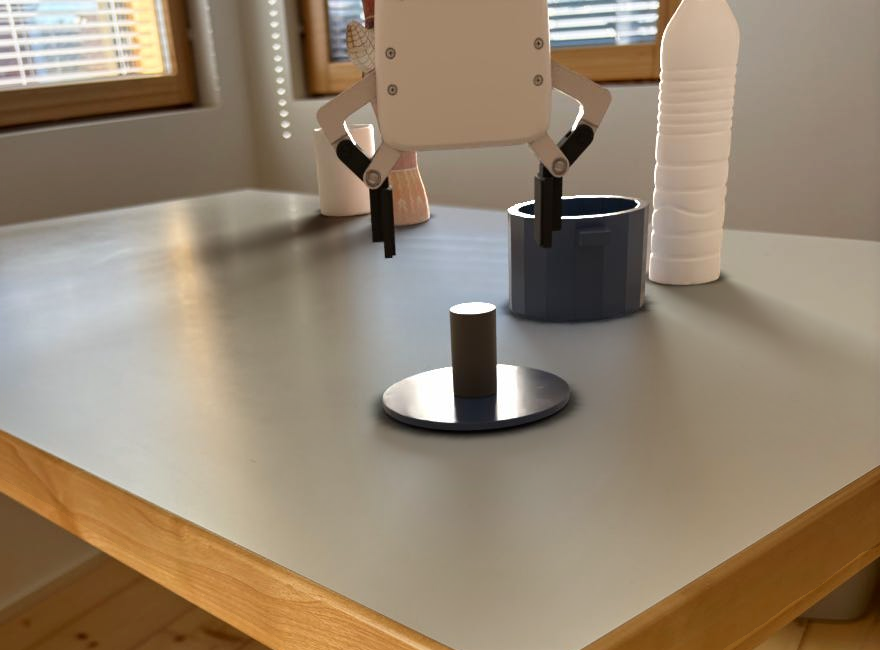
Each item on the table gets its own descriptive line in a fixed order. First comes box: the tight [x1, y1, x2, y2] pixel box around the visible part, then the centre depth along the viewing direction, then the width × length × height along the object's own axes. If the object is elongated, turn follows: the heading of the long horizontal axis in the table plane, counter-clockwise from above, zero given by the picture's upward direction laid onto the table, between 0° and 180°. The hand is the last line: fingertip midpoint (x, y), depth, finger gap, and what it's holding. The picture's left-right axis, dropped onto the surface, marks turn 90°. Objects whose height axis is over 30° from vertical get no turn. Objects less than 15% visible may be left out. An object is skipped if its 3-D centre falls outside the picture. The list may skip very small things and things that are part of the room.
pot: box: [507, 195, 650, 323], centre depth 89 cm, size 12×17×8 cm
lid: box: [381, 302, 571, 431], centre depth 68 cm, size 13×13×7 cm
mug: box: [312, 124, 376, 217], centre depth 148 cm, size 12×8×11 cm
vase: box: [345, 0, 431, 227], centre depth 131 cm, size 10×7×30 cm
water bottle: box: [648, 0, 741, 286], centre depth 92 cm, size 9×6×25 cm
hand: (466, 249), depth 65 cm, fingers open, 9 cm apart
